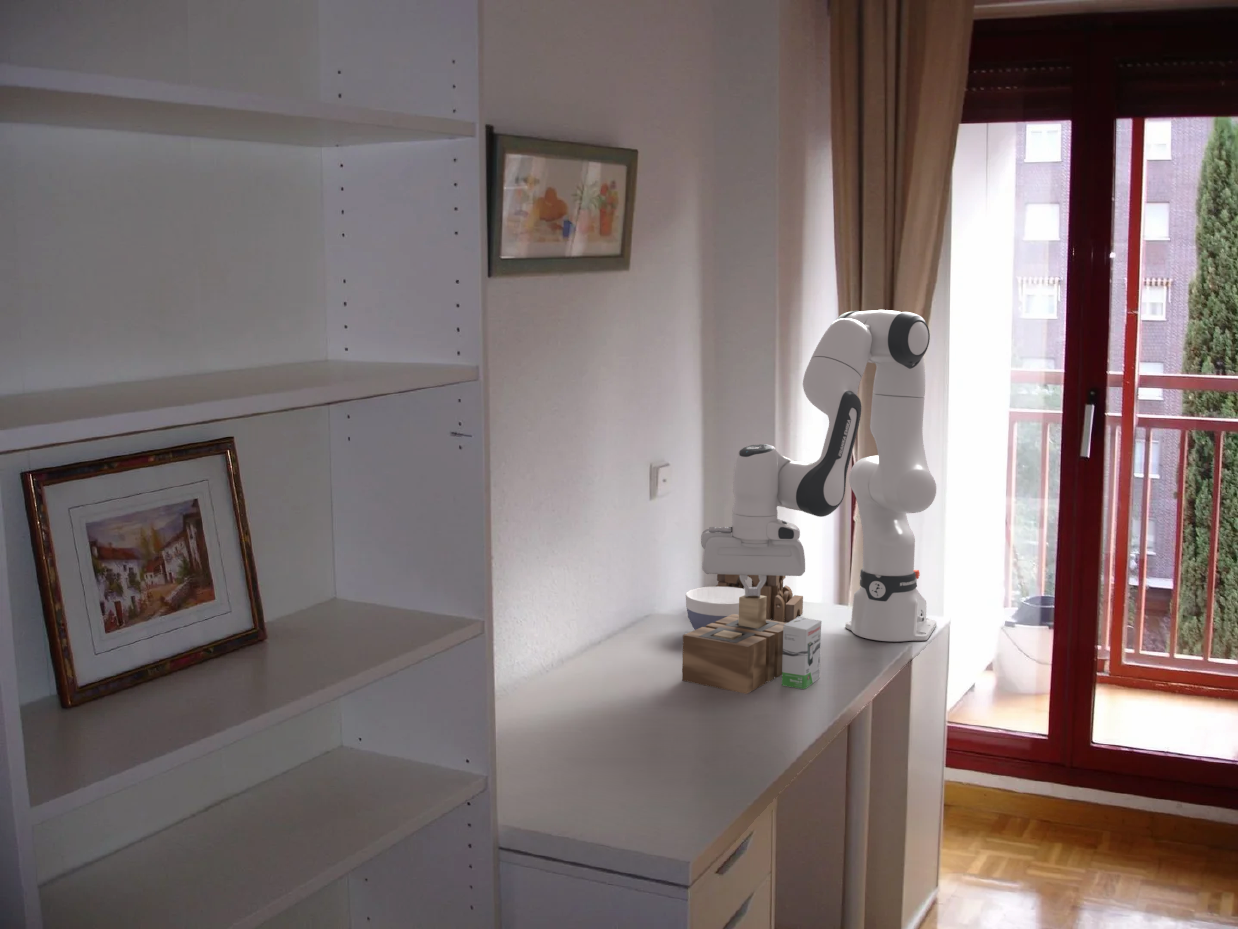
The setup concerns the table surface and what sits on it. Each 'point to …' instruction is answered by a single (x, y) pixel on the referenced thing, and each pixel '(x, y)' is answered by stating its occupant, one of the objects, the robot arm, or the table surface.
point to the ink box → (801, 652)
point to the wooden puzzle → (770, 596)
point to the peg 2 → (752, 611)
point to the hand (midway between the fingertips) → (752, 596)
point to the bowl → (712, 604)
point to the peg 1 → (728, 635)
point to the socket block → (733, 655)
